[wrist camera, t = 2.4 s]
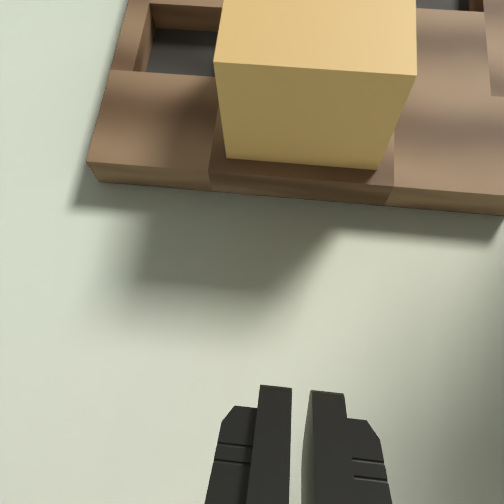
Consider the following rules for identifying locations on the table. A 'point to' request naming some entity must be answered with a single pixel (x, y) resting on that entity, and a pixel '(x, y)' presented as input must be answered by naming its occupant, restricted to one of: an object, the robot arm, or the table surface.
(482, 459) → the table surface
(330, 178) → the board
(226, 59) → the ochre block
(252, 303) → the table surface
